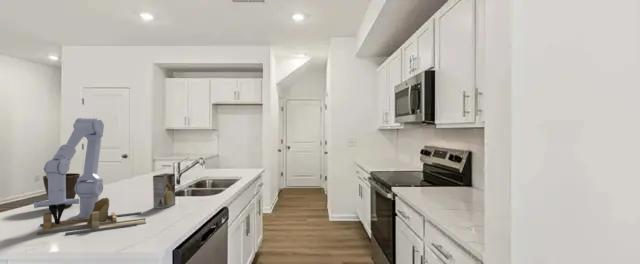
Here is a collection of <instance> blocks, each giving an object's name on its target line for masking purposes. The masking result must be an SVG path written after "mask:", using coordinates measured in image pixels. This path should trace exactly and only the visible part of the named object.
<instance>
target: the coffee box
mask: <svg viewBox="0 0 640 264" xmlns="http://www.w3.org/2000/svg"><path fill="white" fill-rule="evenodd" d="M175 176H176V174H175V173H167V172H166V173H160V174H155V175H153V176H152V183H153V184H152V185H153V187H152V189H153V193H152V194H153V199H152V200H153V209H166V208H168V207H169V208H170V207H171V206H174V205H176V177H175Z"/></svg>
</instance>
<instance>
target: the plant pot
mask: <svg viewBox="0 0 640 264" xmlns="http://www.w3.org/2000/svg"><path fill="white" fill-rule="evenodd" d="M80 176H81V174H80V173H74V172H73V173H71V172H70V173H68V172H67V173H66V199H76V195H77V194H76V193H75V185H76V184H77V179H78V178H79V177H80ZM42 179H43V184H44V190H45V192H46V195H47V197H48V179H47V177H46V175H43V176H42ZM62 204H63V203H62ZM51 205H53V204H51ZM72 207H73V204H68V205H66V206H65V209H68V208H72ZM57 210H58V206H57Z"/></svg>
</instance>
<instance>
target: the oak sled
mask: <svg viewBox="0 0 640 264" xmlns="http://www.w3.org/2000/svg"><path fill="white" fill-rule="evenodd" d="M116 215H117V214H116V213H115V211H114V212H111V214H110V215H109V214H108V219H107V220H108V221H107V220H106V221H102V222H99V224H105V223H112V222H118V220H117V217H116ZM52 217H53V215H52V213H51V212H50V211H49V212H48V211H47V212H44V213H43V215H42V222H43V223H42V224H43V226H42V229H41V231H40V232H43V231H51V230H58V229H66V228H74V227H81V226H89V225H92V223H91V224H87V223H85V222H88V220H89V218H90V217H88V218H76V219H68V220H60V224H55V221H53V219H52ZM109 219H111V220H109ZM83 222H84V223H85V224H77V225H69V226H62V225H68V224H76V223H83ZM52 226H61V227H52Z"/></svg>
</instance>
